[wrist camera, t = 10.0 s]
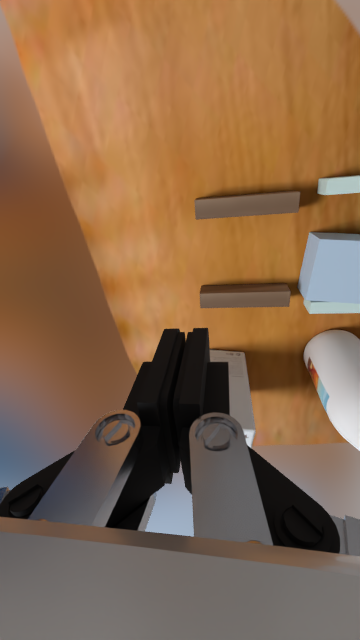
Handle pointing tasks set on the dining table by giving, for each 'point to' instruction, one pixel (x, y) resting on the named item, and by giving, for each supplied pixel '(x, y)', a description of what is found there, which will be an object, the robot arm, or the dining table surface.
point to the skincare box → (238, 390)
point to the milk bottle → (337, 379)
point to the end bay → (329, 188)
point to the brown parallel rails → (234, 208)
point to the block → (331, 268)
